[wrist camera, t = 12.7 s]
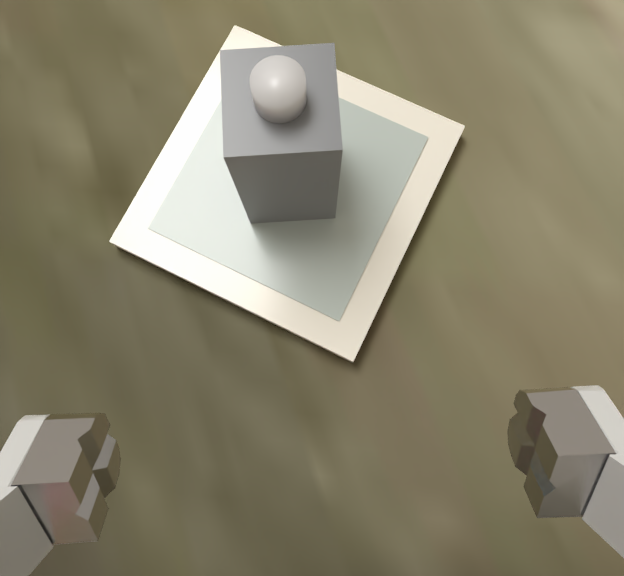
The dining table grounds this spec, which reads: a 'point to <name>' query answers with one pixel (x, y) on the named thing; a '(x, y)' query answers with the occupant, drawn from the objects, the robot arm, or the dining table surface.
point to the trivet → (293, 234)
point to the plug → (282, 130)
